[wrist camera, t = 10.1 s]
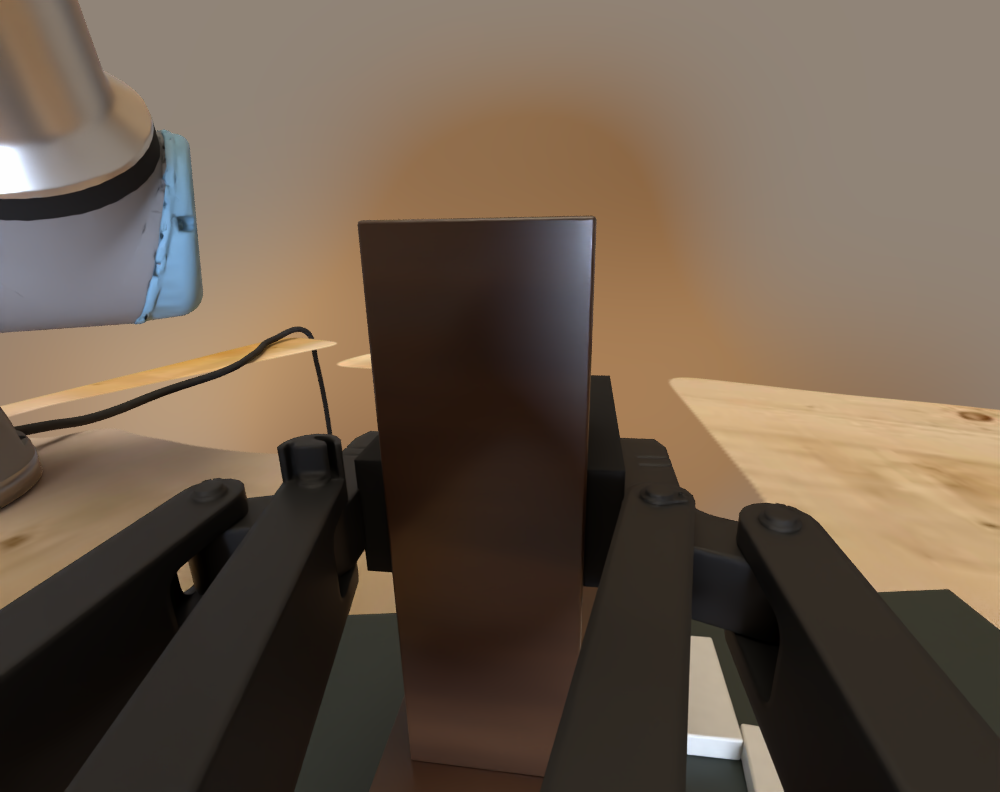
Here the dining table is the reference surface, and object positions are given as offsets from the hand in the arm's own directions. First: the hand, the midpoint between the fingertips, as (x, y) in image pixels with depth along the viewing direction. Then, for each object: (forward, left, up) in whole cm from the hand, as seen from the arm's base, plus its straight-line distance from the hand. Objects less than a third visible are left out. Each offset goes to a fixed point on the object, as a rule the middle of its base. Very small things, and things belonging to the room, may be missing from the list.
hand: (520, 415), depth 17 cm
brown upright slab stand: (+5, -1, -9) cm, 10 cm away
